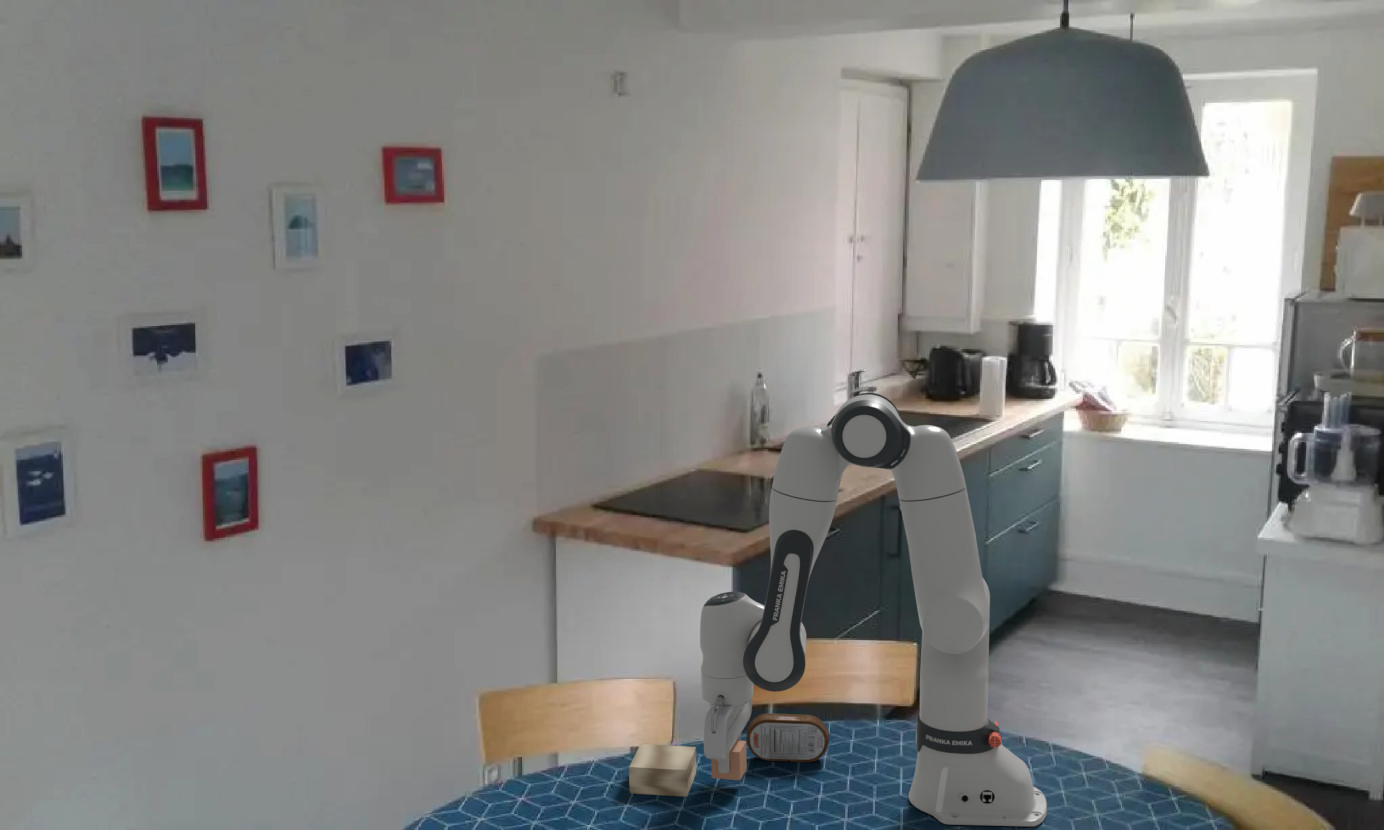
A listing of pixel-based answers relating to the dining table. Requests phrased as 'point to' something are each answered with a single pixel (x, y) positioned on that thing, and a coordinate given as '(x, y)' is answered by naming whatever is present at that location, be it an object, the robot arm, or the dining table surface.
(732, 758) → the cube
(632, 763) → the base block
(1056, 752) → the dining table surface
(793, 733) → the tin
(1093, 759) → the dining table surface
